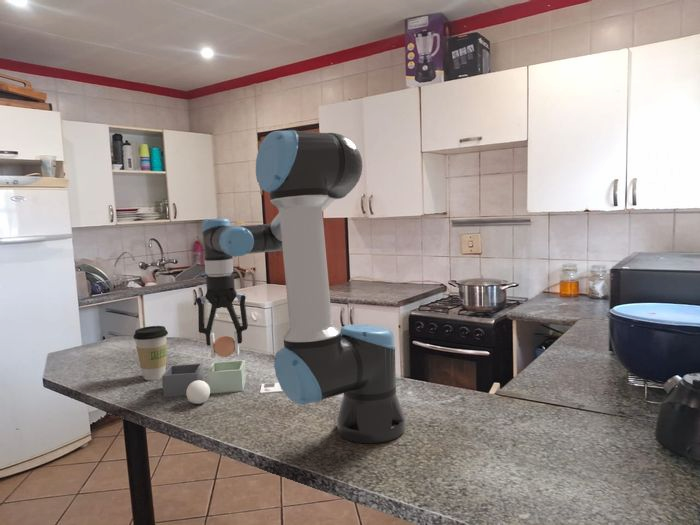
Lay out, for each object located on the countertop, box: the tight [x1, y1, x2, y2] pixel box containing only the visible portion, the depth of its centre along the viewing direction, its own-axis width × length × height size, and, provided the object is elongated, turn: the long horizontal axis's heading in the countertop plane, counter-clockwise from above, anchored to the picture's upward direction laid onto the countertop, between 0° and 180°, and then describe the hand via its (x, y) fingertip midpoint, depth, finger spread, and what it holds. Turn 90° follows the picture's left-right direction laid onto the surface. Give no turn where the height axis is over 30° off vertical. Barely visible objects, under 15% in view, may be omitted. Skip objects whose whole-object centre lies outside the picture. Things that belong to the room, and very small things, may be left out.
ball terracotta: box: [214, 334, 235, 358], centre depth 143 cm, size 6×6×6 cm
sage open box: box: [206, 359, 247, 394], centre depth 144 cm, size 9×9×6 cm
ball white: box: [186, 380, 210, 405], centre depth 132 cm, size 6×6×6 cm
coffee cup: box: [133, 325, 169, 381], centre depth 154 cm, size 10×10×15 cm
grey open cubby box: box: [161, 362, 205, 398], centre depth 142 cm, size 9×9×6 cm
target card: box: [259, 381, 284, 394], centre depth 141 cm, size 7×9×1 cm
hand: (225, 355), depth 143 cm, fingers closed on ball terracotta, 6 cm apart
